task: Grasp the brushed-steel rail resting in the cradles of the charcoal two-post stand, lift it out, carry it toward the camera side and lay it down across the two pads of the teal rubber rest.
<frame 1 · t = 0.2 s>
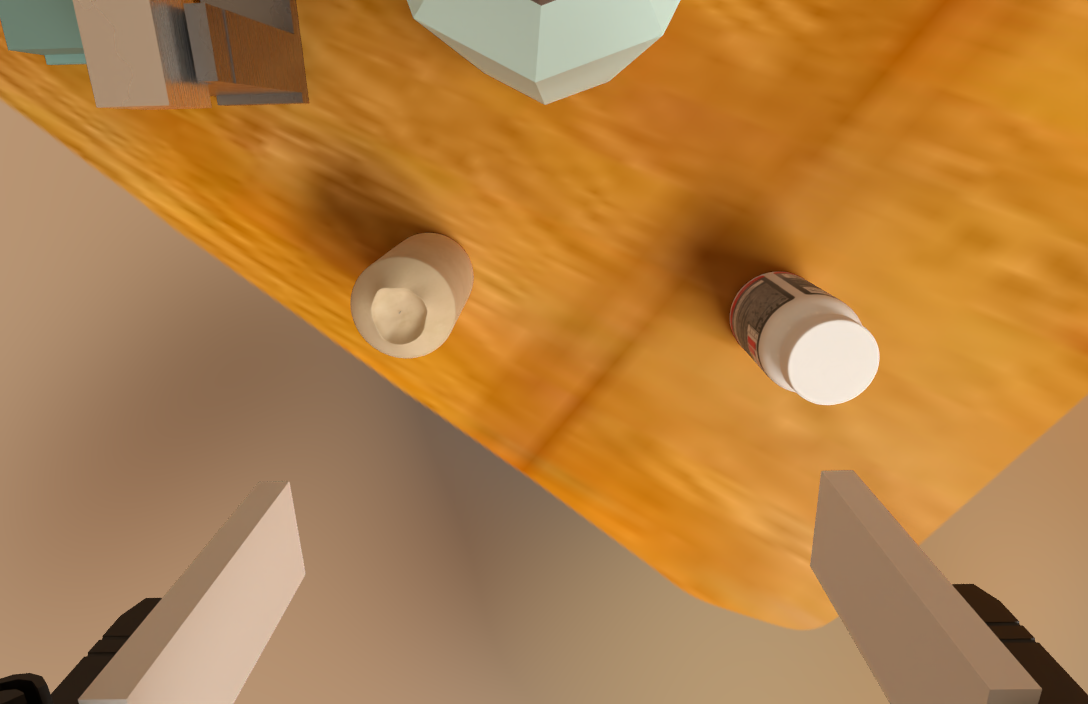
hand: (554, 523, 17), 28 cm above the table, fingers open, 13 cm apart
water bottle: (550, 12, 38), on the table
pill bottle: (770, 311, 43), on the table
candle: (432, 273, 43), on the table
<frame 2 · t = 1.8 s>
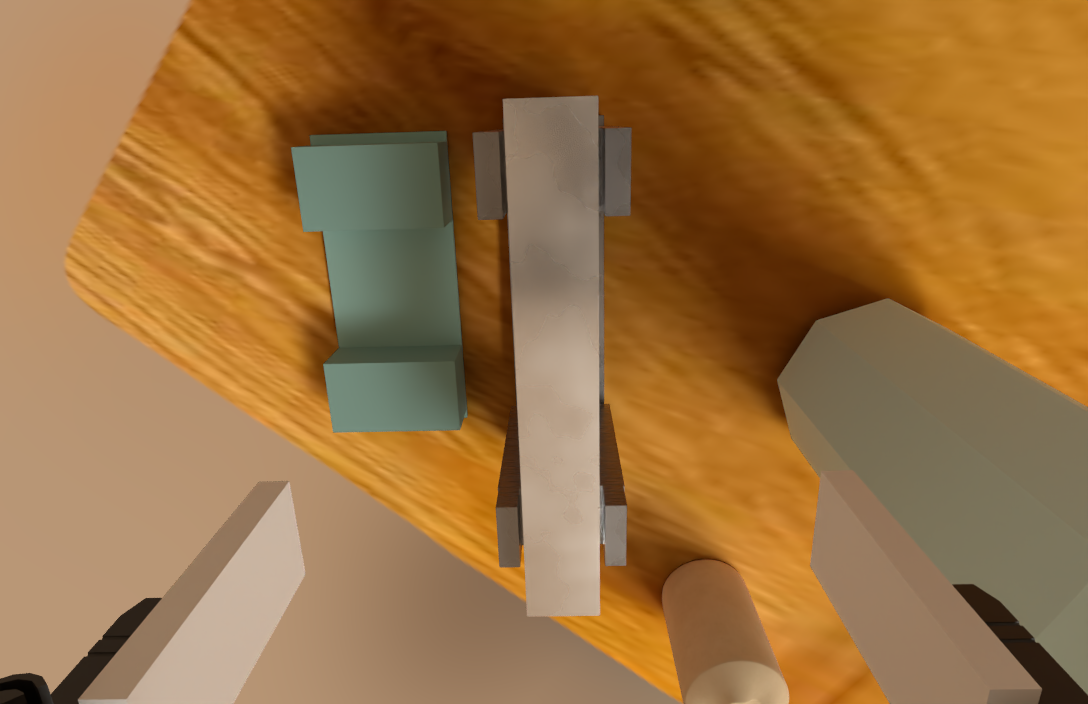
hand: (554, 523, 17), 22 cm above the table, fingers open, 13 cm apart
rest: (394, 284, 37), on the table
water bottle: (855, 375, 38), on the table
rail: (557, 359, 27), point 10 cm above the table, touching stand
candle: (702, 591, 43), on the table
stand: (557, 298, 37), on the table
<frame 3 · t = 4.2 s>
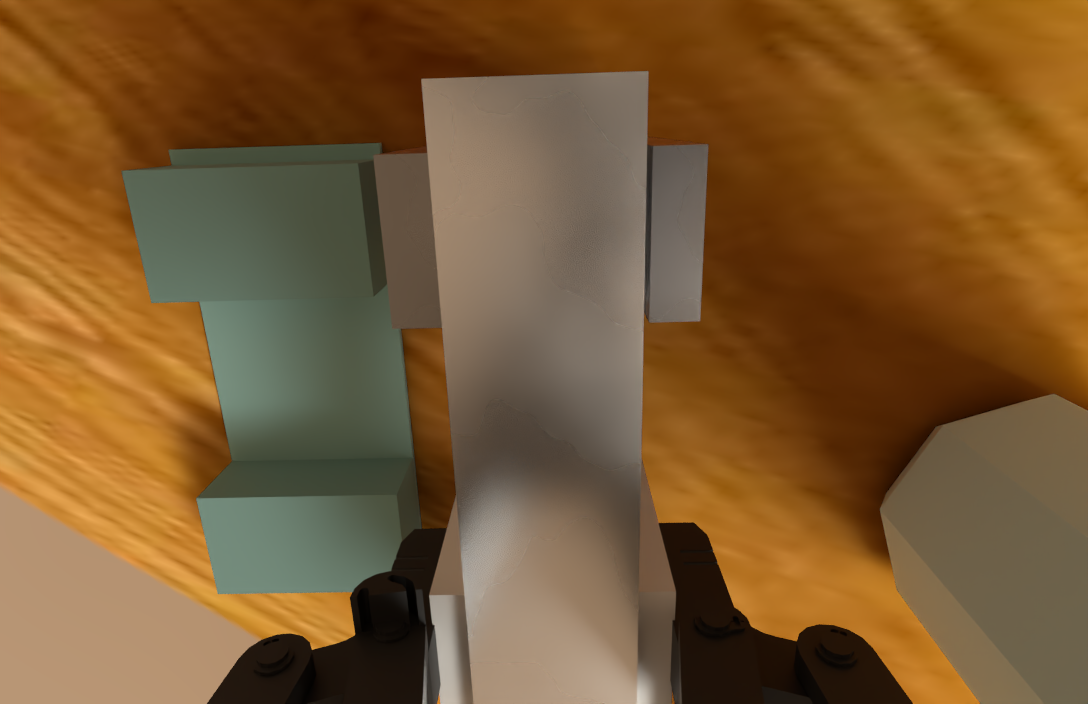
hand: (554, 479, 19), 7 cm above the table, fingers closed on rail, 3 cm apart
rest: (311, 371, 25), on the table
water bottle: (989, 496, 26), on the table
rail: (554, 554, 15), point 10 cm above the table, touching gripper, stand
stand: (554, 390, 25), on the table
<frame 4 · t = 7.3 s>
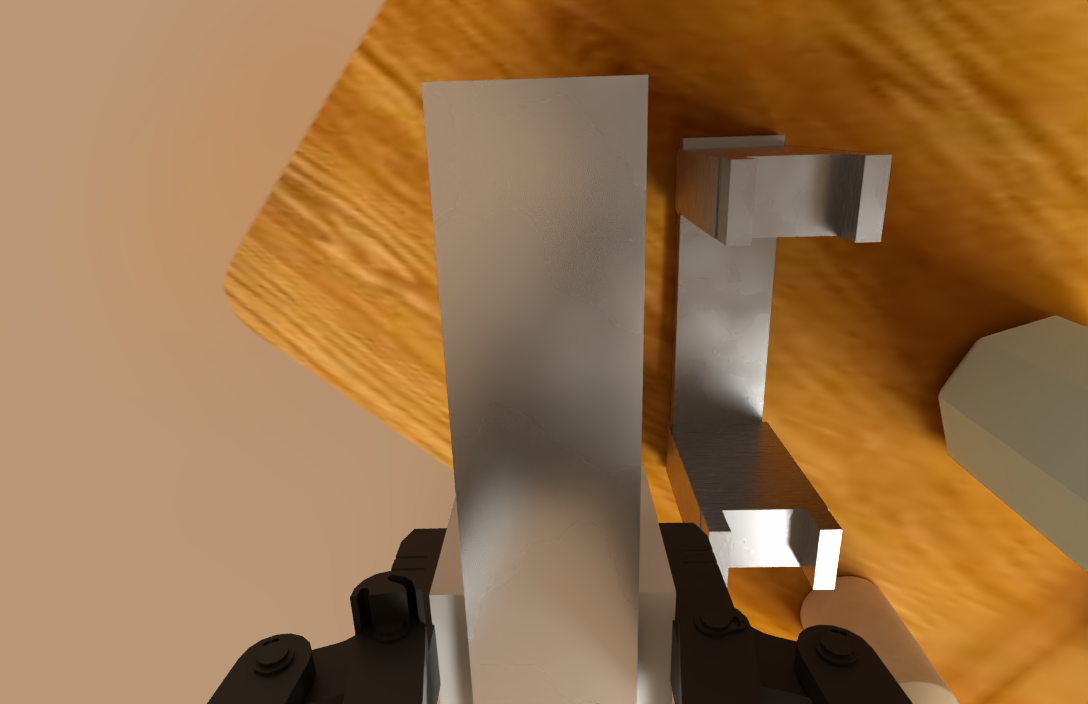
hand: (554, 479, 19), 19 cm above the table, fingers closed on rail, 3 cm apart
water bottle: (1011, 392, 38), on the table
rail: (554, 556, 15), point 23 cm above the table, touching gripper
candle: (840, 607, 43), on the table
stand: (719, 316, 37), on the table
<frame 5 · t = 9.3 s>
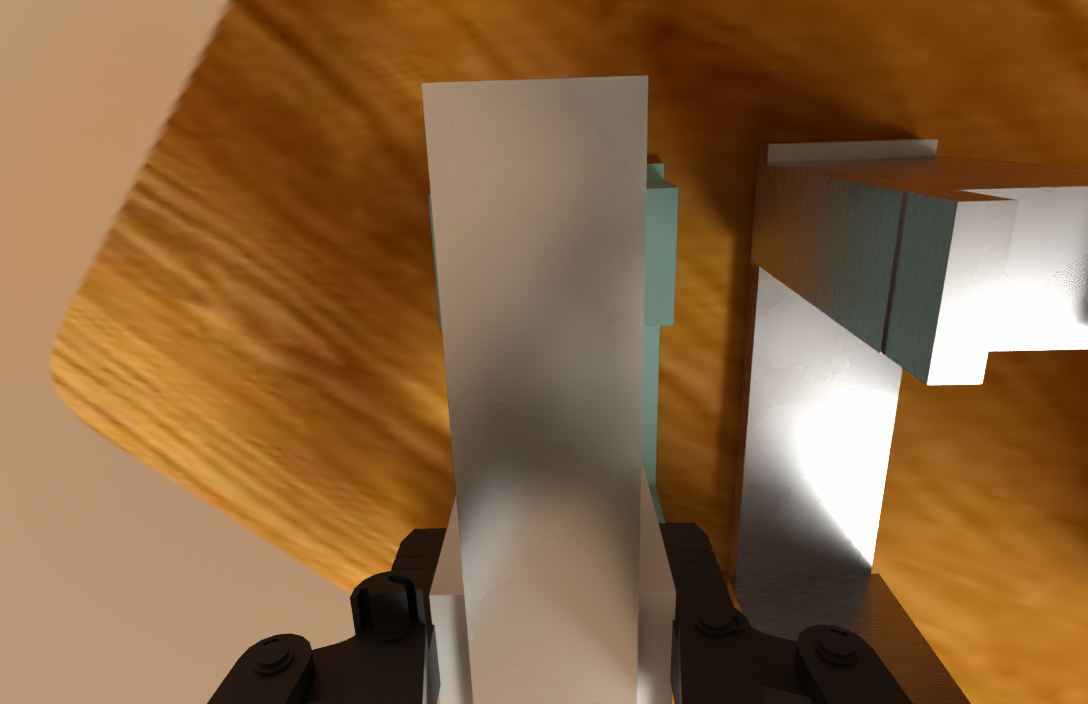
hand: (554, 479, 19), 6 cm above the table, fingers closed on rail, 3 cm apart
rest: (558, 396, 24), on the table
rail: (554, 557, 15), point 9 cm above the table, touching gripper
stand: (809, 417, 24), on the table
when the fingers open (2 cm above the table, at t = 10.8 s): rail drops 2 cm, resting on rest.
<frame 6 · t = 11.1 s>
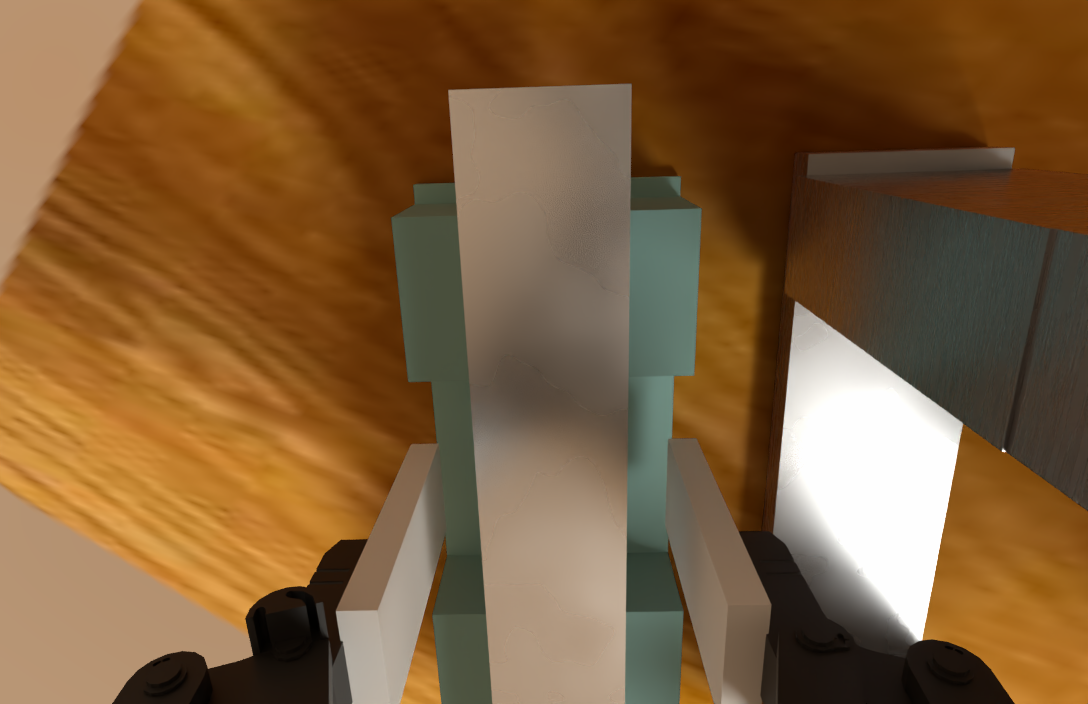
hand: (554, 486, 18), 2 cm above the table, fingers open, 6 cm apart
rest: (554, 450, 20), on the table
rail: (555, 504, 17), point 3 cm above the table, touching rest
stand: (849, 473, 20), on the table
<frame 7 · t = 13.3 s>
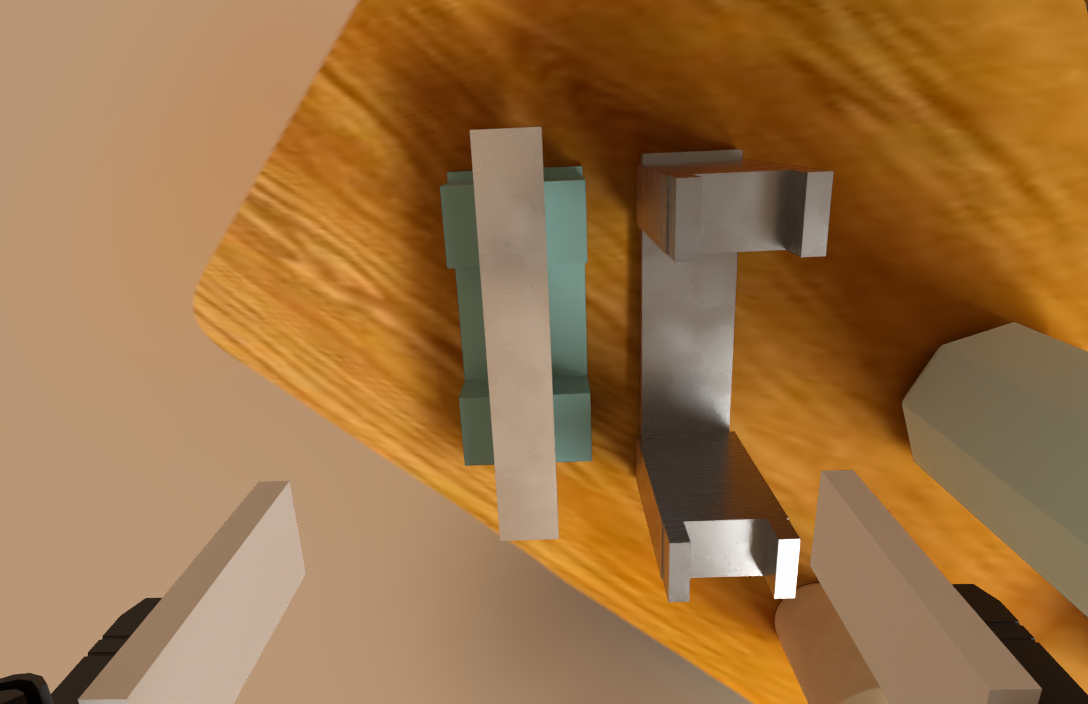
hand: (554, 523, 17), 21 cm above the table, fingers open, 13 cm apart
rest: (522, 317, 37), on the table
water bottle: (974, 397, 39), on the table
rail: (521, 333, 34), point 3 cm above the table, touching rest
candle: (814, 614, 43), on the table
stand: (684, 328, 37), on the table
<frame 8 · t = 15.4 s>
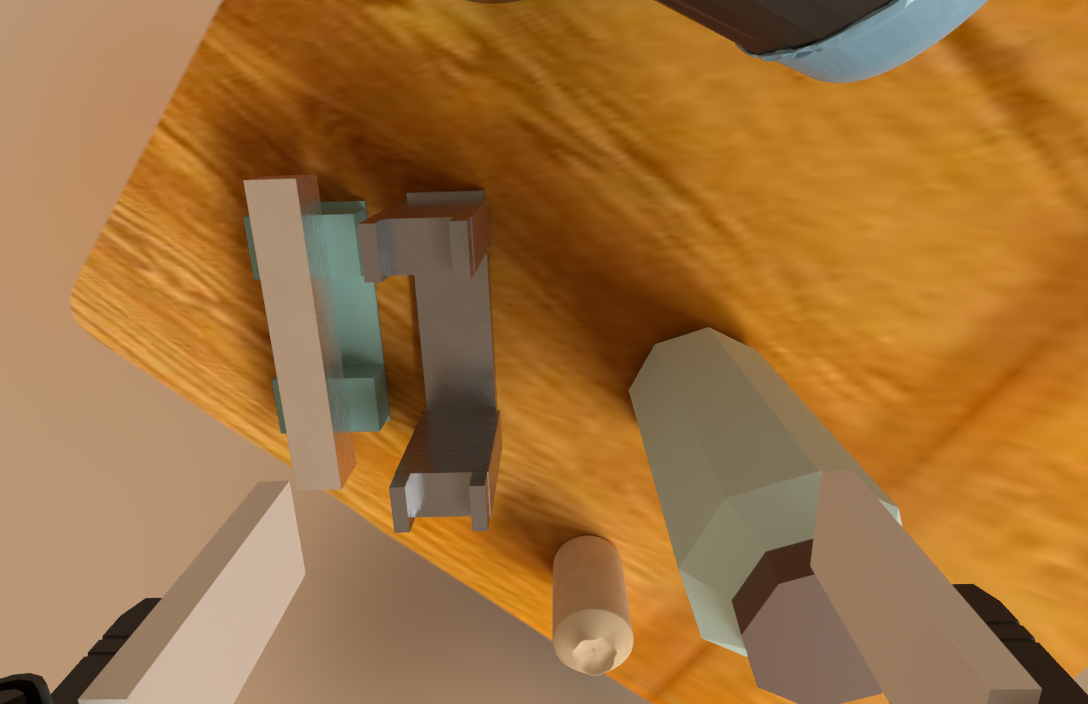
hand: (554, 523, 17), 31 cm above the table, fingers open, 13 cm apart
rest: (329, 317, 47), on the table
water bottle: (694, 386, 48), on the table
rail: (315, 330, 44), point 3 cm above the table, touching rest
candle: (587, 561, 53), on the table
stand: (457, 327, 47), on the table
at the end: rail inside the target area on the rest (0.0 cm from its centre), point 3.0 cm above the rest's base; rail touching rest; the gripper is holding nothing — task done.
